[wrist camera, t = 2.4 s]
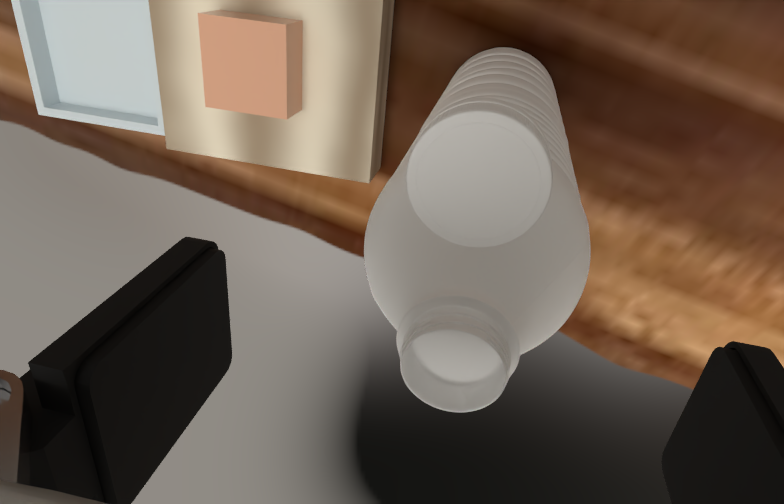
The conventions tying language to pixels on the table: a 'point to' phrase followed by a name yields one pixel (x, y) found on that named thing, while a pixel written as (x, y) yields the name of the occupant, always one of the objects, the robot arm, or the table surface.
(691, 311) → the table surface
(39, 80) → the box
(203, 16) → the terracotta tile
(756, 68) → the table surface
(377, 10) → the birch plate
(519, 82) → the water bottle
